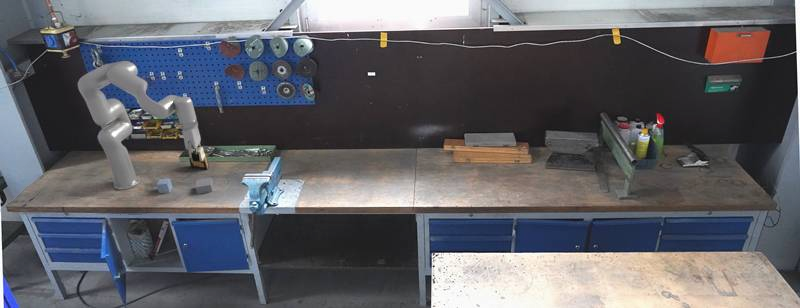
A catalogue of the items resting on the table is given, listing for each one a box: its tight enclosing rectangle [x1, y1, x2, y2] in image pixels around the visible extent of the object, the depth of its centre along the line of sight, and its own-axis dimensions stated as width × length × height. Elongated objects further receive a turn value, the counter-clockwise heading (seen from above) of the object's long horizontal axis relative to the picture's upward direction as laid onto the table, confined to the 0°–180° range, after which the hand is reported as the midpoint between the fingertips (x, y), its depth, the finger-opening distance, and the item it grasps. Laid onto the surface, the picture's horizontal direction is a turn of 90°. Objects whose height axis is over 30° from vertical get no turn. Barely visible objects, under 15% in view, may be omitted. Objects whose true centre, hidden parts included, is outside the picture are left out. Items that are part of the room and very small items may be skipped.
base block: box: [195, 177, 214, 195], centre depth 268 cm, size 7×7×4 cm
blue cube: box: [156, 178, 173, 194], centre depth 269 cm, size 5×5×5 cm
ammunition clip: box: [187, 147, 210, 171], centre depth 285 cm, size 11×2×12 cm, turn 68°
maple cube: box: [188, 146, 206, 162], centre depth 260 cm, size 5×5×5 cm
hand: (198, 157), depth 261 cm, fingers closed on maple cube, 5 cm apart
